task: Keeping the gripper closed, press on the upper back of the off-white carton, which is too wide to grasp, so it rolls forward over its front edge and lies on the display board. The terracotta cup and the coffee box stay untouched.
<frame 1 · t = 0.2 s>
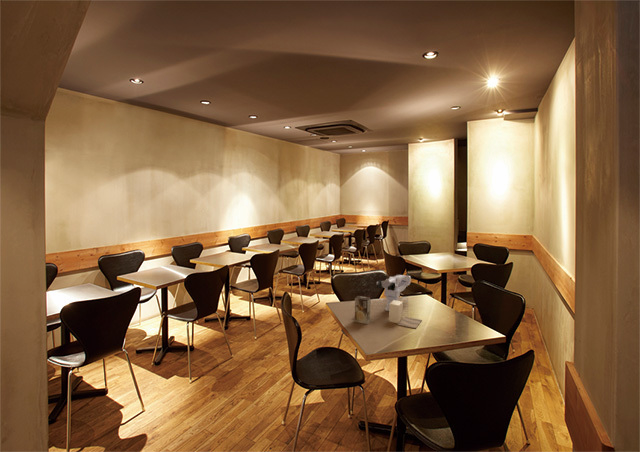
hand: (382, 287, 224), 21 cm above the table, tool horizontal, fingers open, 7 cm apart
coffee box: (362, 321, 220), on the table
carton: (395, 320, 223), on the table
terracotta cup: (360, 316, 229), on the table
display board: (409, 323, 218), on the table
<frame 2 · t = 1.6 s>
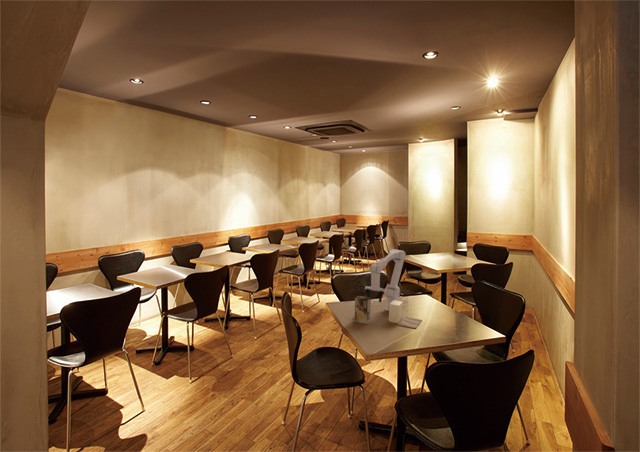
hand: (374, 301, 229), 10 cm above the table, tool pointing down, fingers open, 7 cm apart
nothing on the table moved.
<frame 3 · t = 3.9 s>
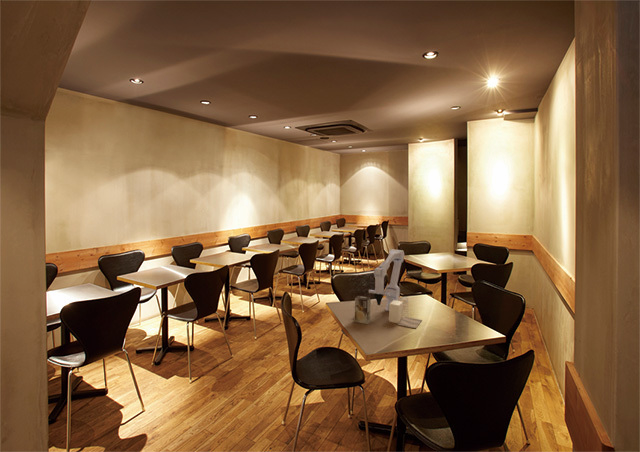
hand: (378, 304, 228), 8 cm above the table, tool pointing down, fingers closed
nothing on the table moved.
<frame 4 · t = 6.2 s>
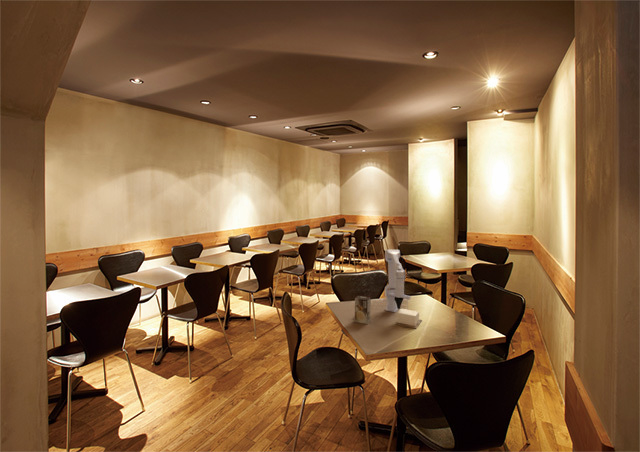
hand: (398, 308, 221), 8 cm above the table, tool pointing down, fingers closed
carton: (398, 315, 221), point 4 cm above the table, tilted 90°, touching display board
everything else where it was.
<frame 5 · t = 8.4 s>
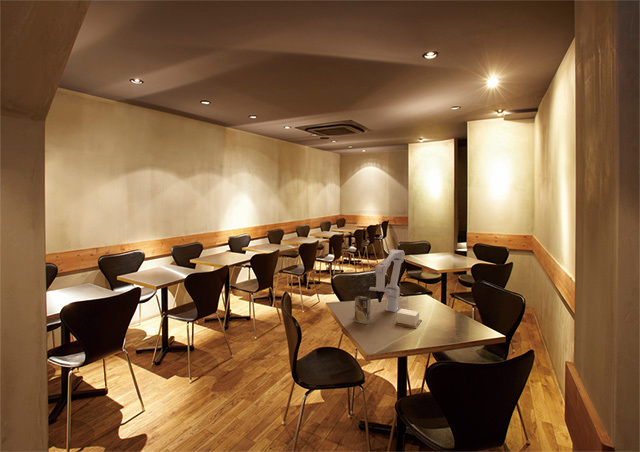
hand: (379, 302, 228), 10 cm above the table, tool pointing down, fingers closed
nothing on the table moved.
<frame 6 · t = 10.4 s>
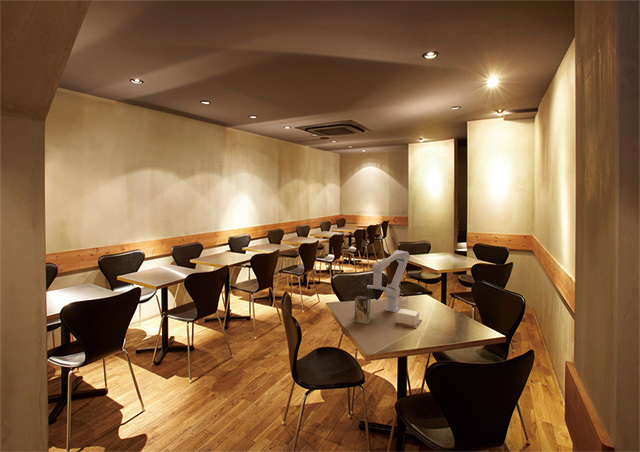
hand: (376, 299, 233), 10 cm above the table, tool pointing down, fingers closed
nothing on the table moved.
at the end: carton tilted 90°; carton touching display board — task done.
